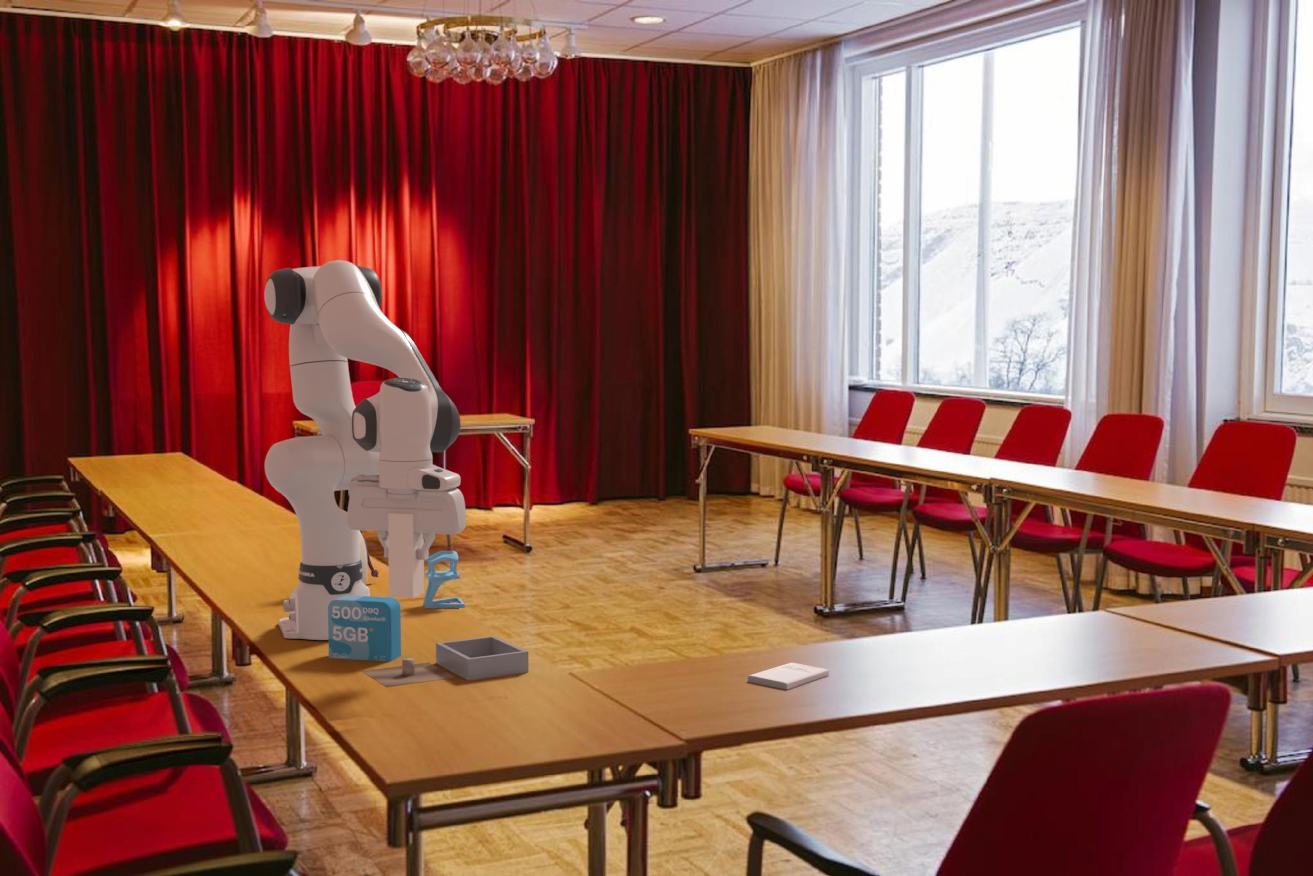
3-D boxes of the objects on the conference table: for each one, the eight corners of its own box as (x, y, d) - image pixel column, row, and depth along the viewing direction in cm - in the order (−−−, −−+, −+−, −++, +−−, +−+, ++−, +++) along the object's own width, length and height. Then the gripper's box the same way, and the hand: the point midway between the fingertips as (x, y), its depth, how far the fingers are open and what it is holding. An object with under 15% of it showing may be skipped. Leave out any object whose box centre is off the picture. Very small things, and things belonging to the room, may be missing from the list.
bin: (436, 671, 236) (436, 643, 235) (494, 663, 241) (493, 635, 241) (468, 689, 224) (468, 659, 223) (528, 680, 230) (528, 651, 229)
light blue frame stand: (421, 604, 295) (420, 549, 294) (459, 601, 298) (458, 547, 297) (426, 610, 288) (424, 555, 287) (465, 608, 290) (464, 552, 289)
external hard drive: (747, 684, 229) (789, 670, 239) (787, 692, 224) (828, 678, 233) (747, 674, 229) (789, 661, 238) (787, 683, 224) (828, 668, 233)
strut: (388, 596, 225) (388, 513, 224) (399, 591, 230) (399, 509, 228) (413, 598, 224) (412, 514, 223) (424, 593, 228) (423, 510, 227)
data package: (328, 666, 240) (327, 599, 239) (339, 660, 244) (338, 594, 243) (391, 670, 237) (390, 602, 236) (401, 664, 241) (400, 597, 240)
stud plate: (362, 679, 230) (361, 656, 230) (428, 670, 236) (428, 648, 236) (386, 696, 220) (386, 671, 219) (455, 686, 226) (455, 662, 226)
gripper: (339, 476, 225) (340, 558, 226) (455, 480, 220) (455, 564, 221) (357, 472, 231) (357, 552, 232) (469, 476, 226) (469, 558, 227)
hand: (406, 558), depth 226 cm, fingers closed on strut, 4 cm apart
